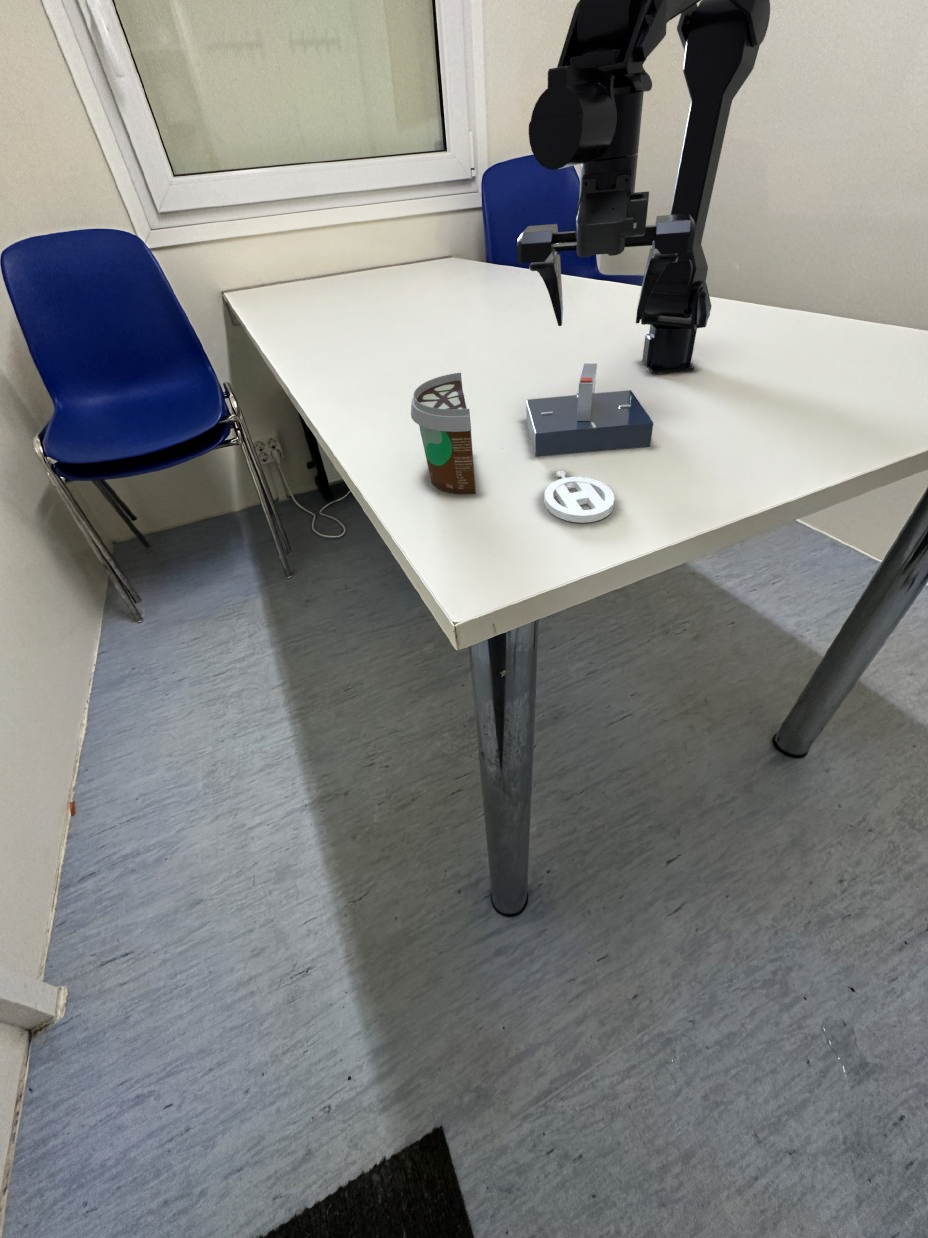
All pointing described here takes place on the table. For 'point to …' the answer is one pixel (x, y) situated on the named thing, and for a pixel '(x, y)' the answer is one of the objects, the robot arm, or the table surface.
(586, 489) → the pendant
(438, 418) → the food container
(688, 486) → the table surface
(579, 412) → the gray bar
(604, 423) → the tap base
